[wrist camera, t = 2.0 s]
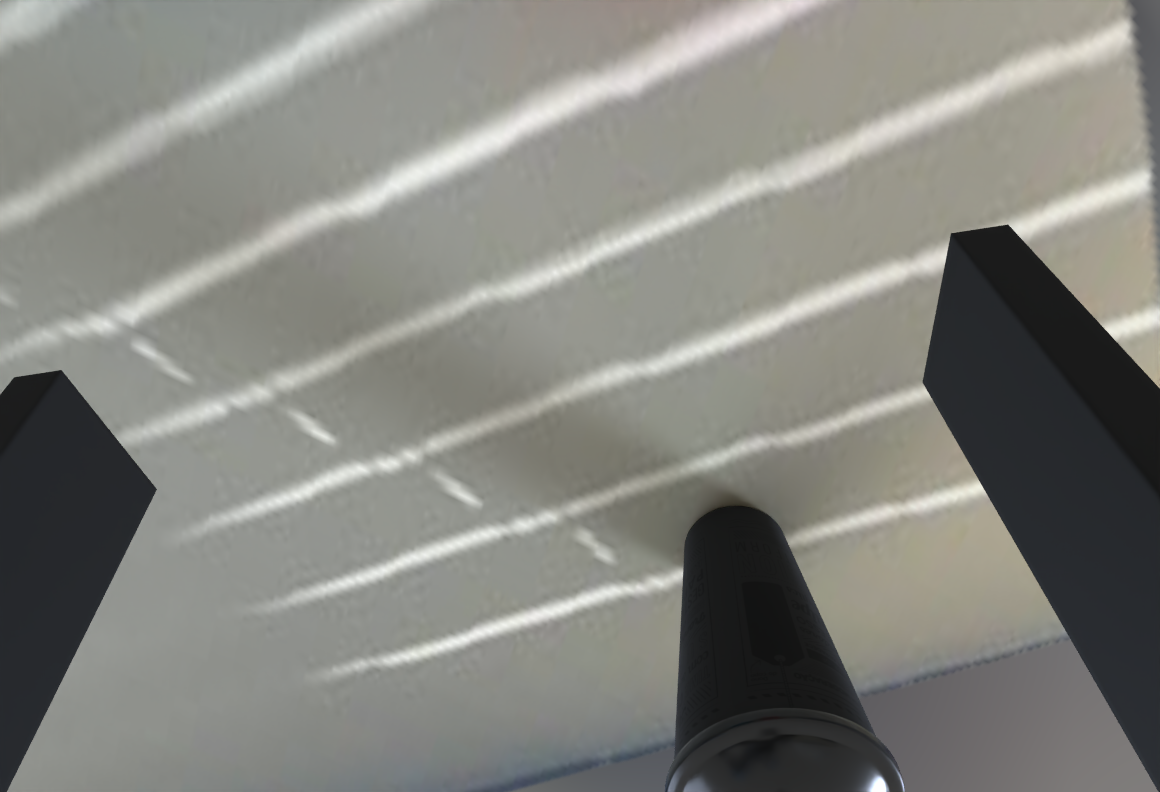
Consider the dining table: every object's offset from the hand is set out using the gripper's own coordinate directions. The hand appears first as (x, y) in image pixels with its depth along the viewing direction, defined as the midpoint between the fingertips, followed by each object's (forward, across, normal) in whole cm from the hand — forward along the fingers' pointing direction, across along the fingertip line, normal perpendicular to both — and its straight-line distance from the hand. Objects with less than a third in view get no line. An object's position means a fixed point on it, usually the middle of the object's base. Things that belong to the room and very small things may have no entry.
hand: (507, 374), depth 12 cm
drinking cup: (+14, +6, -24) cm, 28 cm away
